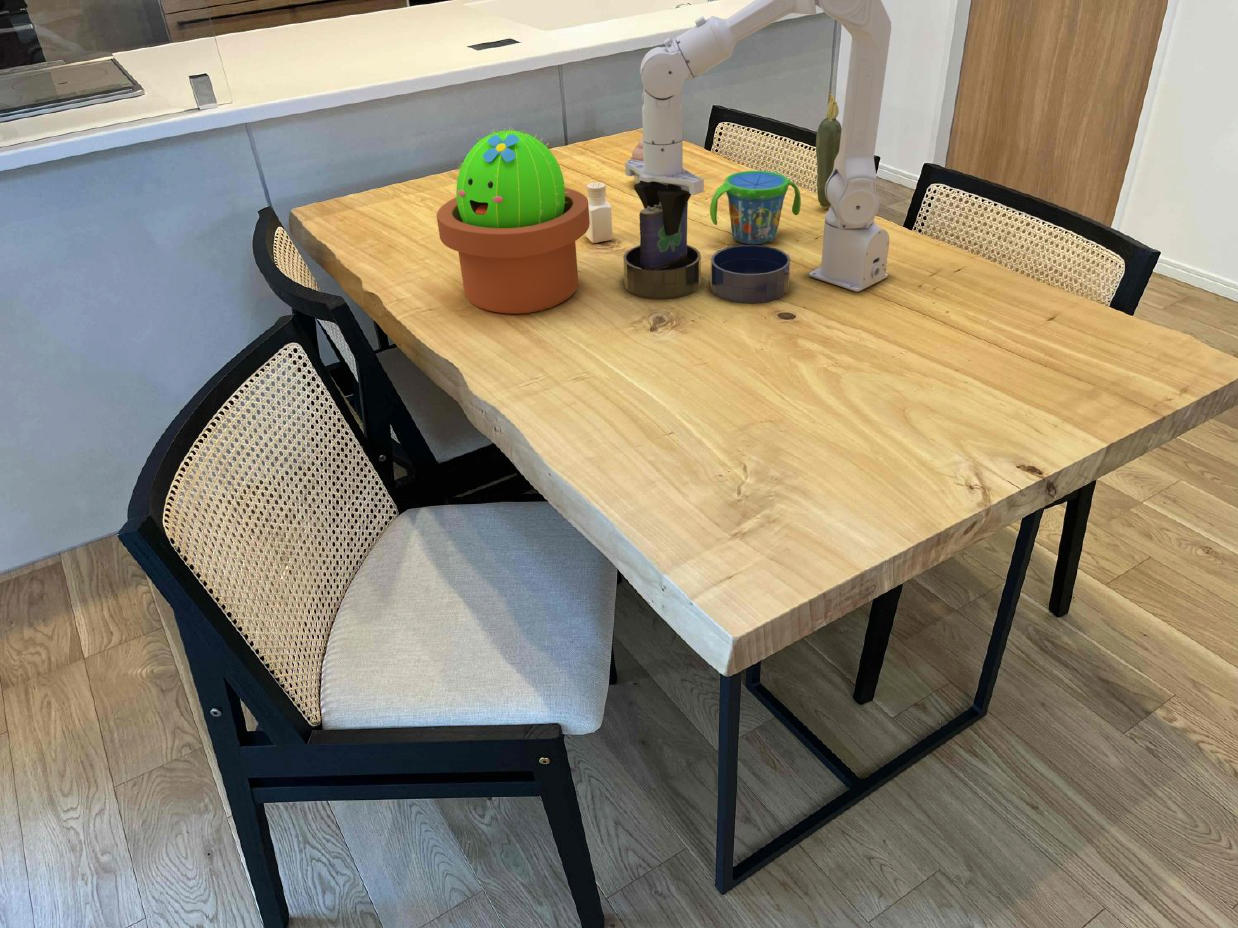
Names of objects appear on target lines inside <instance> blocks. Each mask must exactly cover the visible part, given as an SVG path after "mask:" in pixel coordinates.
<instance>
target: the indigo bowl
mask: <svg viewBox="0 0 1238 928" xmlns="http://www.w3.org/2000/svg"><path fill="white" fill-rule="evenodd" d="M791 263H792V259H791V257H790V255H789V254H788V253H786V251H783V250H782V249H779V248H777V247H772V246H767V245H761V244H753V245H750V244H741V245H740V244H739V245H734V246H729V247H725V248H722V249H720V250H718V251H716V252H714V254H712V256H711V257H710V280H709V281H710V283H709V285H710V290H711V293H713V294H714V295H715V296H717V297H718V298H720V299H722V300H725V301H728V302H733V303H738V304H739V303H740V304H761V303H769V302H772V301H775V300H778V299H780V298H782V297H783V296H785V295H786V294H787V293H788V291H789V287H790V280H791V279H790V278H791Z"/></svg>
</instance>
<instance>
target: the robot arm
mask: <svg viewBox="0 0 1238 928" xmlns="http://www.w3.org/2000/svg"><path fill="white" fill-rule="evenodd" d="M816 7H818V8H820V9H821V10H822V11H823V13H824V14H826V15H827V16H828V17H829V18H831V19H832V20H835V21H837V22H838V23H840V25H841V26H842V27H843V28H844V29H845V30H846V31H847V32H848V33H849V35H850V37H851V44H850V53H849V61H848V70H847V77H846V78H847V79H846V87H845V97H844V105H843V106H844V107H843V113H842V122H841V128H842V130H841V139H840V148H839V153H838V155H837V157H836V159H835V161H834V168H833V171H832V174H831V175H830V177H829V178H828V180H827V182H826V186H825V195H826V198H827V200H828V201H829V203H830V204H831V207H830V208H828V211H827V212H826V214H825V216H824V227H823V239H822V250H821V264H820V267H818V268H815V269H814V270H811V271H810V272H808V276H809V277H811V278H813V279H817V280H820V281H823V282H826V283H829V284H832V285H835V286H838V287H841V288H844V289H847V290H849V291H853V292H857V293H858V292H861V291H863V290H865V289H867V288H869V287H870V286H874V284H877V283H879V282H880V281H883V280H884V279H887V278H888V276H889V274H888V273H887V263H888V257H889V256H888V255H889V247H890V235H889V232H888V231H887V230H886V229H884V228H882V227H881V226H879V225H878V224H876V222H875V217H876V216H877V215H878V212H879V210H880V198H879V195H878V193H877V189H876V188H877V187H876V185H877V184H876V183H877V170H876V164H875V154H876V153H875V151H876V144H877V137H878V131H879V124H880V123H879V122H880V115H881V107H882V102H883V101H882V100H883V92H884V87H885V86H884V85H885V78H886V71H887V64H888V55H889V47H890V40H891V34H892V21H891V18H890V16H889V14H888V12H887V9H886V8H885V5H884V3H883V1H882V0H753V1H752V2H750V3H749V4H747V5H745V6H744V7H743V8H741V9H739V10H738V11H736V12H735V13H733V14H732V15H730V16H729V17H727V18H721V17H718V16H715V15H712V16H710V17H708V18H707V19H706V18H705V17H704V16H700V17H699V18H697V19H696V20H695V21H694V23H695V26H693V27H692V28H690V29H688V30H687V31H685V32H683V33H682V34H680V35H678V36H677V37H675V38H673V39H672V38H671V37H668V38H666V39H665V40H664V41H663V43H664V46H662V47H661V46H657V47H654V48H652V49H650V50H649V51H648V52H646V53H645V55H644V56H643V58H642V60H641V63H640V67H639V76H640V79H641V84H642V88H643V92H642V93H641V99H642V103H643V104H642V106H641V123H642V124H641V125H642V138H643V161H638V160H632V161H628V160H627V161H628V162H627V161H626V162H625V163H624V168H625V169H624V171H625V172H624V173H625V176H627V177H634V176H637V177H640V180H641V181H640V183H637V184H636V183H634V185H633V190H634V191H635V193H636V195H637V196H638V197H639V199H640V202H641V204H642V207H643V209H645V208H647V206H650V208H651V207H654V205H658V204H659V202H661V205H662V210H663V216H664V229H665V234H666V235H668V236H670V235H673V234H676V233H678V231H679V226H680V222H681V218H682V215H683V212H684V209H685V206H686V204H687V202H688V203H689V200H690V198H691V197H692V196H696V195H699V194H701V193H703V192H704V191H705V189H704V186H705V185H704V184H705V183H704V181H705V178H703V177H700V176H697V175H696V174H694V173H692V172H690V171H689V170H687V169H686V168H685V167H684V164H683V163H684V159H683V157H684V154H683V152H684V150H683V149H684V148H683V145H684V144H683V141H684V140H683V137H684V135H683V104H682V103H681V91H682V89H683V86H684V83H685V81H691V80H694V79H695V78H697V77H699V76H700V75H702V74H704V73H706V72H707V71H709V70H710V69H712V68H714V67H716V66H718V65H720V64H721V63H722V62H724V61H726V60H728V59H730V58H731V57H732V56H733V54H734V50H735V46H736V44H737V43H738V42H739V41H741V40H743V39H745V38H747V37H749V36H750V35H753V34H754V33H757V32H759V31H761V30H762V29H764V28H766V27H767V26H770V25H771V24H773V23H775V22H777V21H778V20H781V19H782V18H784V17H786V16H788V15H791V14H799V15H809V16H816V15H817V8H816ZM633 175H634V176H633Z"/></svg>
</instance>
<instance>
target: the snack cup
mask: <svg viewBox="0 0 1238 928" xmlns="http://www.w3.org/2000/svg"><path fill="white" fill-rule="evenodd" d="M789 186H791V187H792V188H793V190H794V198H793V203H792V207H791V213H792V214H793V215H795V216H798V215H800V211H801V206H802V205H801V204H802V199H801V192H800V189H799V187H798V186H797V184H796V183H795V182H793V181H792V180H790V179H789V178H788V177H787V176H785V175H784V174H782V173H778V172H774V171H766V170H743V171H739V172H735V173H732V174H730V175H728V176H727V177H725V181H724V183H722V184H721V185H720V186H719V187H718V188H717V189H716V190H715V192H714V194H713V195H712V198H711V201H710V207H709V215H710V219H711V222H712V224H713V225H715V226H717V225H718V219H717V216H718V202H719V199H720V197H722V195H724V194H726V196H727V201H728V212H729V214H728V215H729V220H730V229H731V235H732V238H733V240H734V241H737V242H739V243H742V244H745V245H761V244H765V243H772V242H773V241H774V239H775V238H776V237H777V235H778V229H779V225H780V221H781V217H782V209H783V207H784V200H785V197H786V194H787V192H788V191H789V190H788V189H789Z"/></svg>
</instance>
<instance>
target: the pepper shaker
mask: <svg viewBox="0 0 1238 928" xmlns="http://www.w3.org/2000/svg"><path fill="white" fill-rule="evenodd" d="M606 187H607V186H606V183H604V182H599V181H596V182H590V183H588V184H586V193H587V197H586V198H587V200H588V205H589V220H590V225H589V228H588V230H587V232H586V233H585V237H586V238H587V239H588V240H589V241H590V242H591V243H592V244H597V243H603V242H607V241H611V240H613V237H614V235H613V217H612V216H613V214H612V205H611V204H610V203H609V202H608V201H607V188H606Z"/></svg>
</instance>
